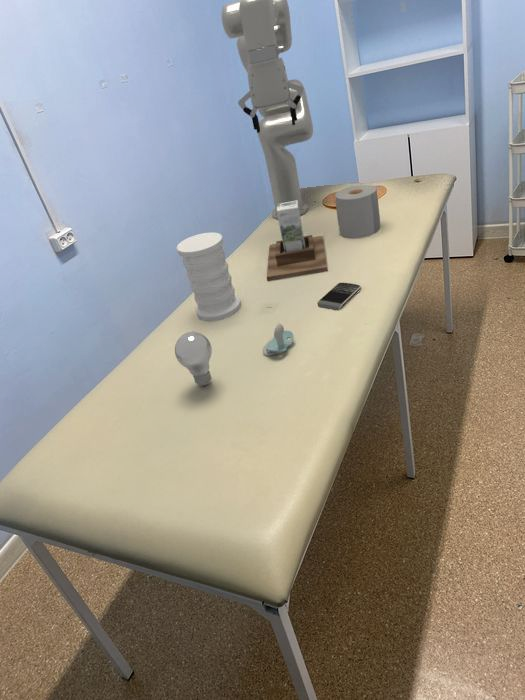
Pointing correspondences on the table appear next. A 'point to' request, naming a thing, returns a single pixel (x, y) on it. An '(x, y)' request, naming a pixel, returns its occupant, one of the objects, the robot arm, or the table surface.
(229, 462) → the table surface
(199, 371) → the light bulb
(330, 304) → the cell phone
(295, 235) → the syrup box
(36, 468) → the table surface
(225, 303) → the decorative container
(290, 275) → the stand
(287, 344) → the pacifier
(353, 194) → the toilet paper roll
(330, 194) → the table surface
